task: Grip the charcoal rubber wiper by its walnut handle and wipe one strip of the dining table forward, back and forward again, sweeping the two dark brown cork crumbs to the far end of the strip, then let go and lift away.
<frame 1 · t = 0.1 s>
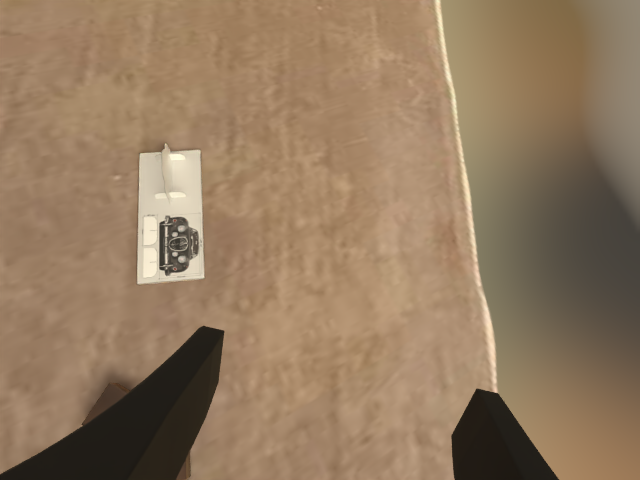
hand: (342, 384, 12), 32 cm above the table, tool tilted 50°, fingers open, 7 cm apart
car cutout: (171, 215, 48), on the table
cork crumb B: (121, 413, 41), on the table
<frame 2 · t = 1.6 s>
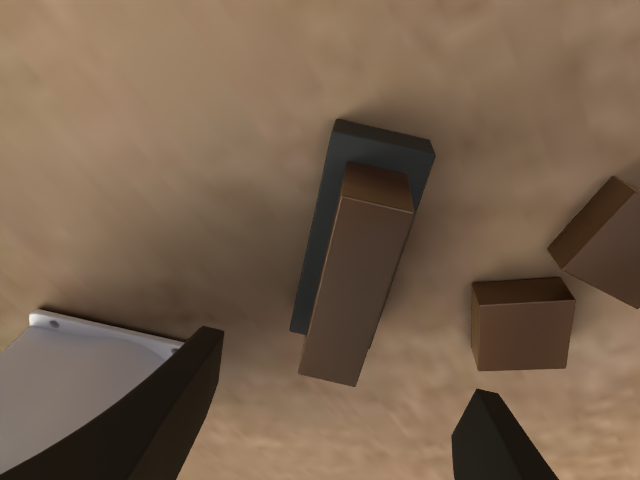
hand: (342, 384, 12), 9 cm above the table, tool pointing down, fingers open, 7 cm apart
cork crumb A: (513, 313, 22), on the table
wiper: (354, 233, 21), on the table
cork crumb B: (615, 234, 19), on the table
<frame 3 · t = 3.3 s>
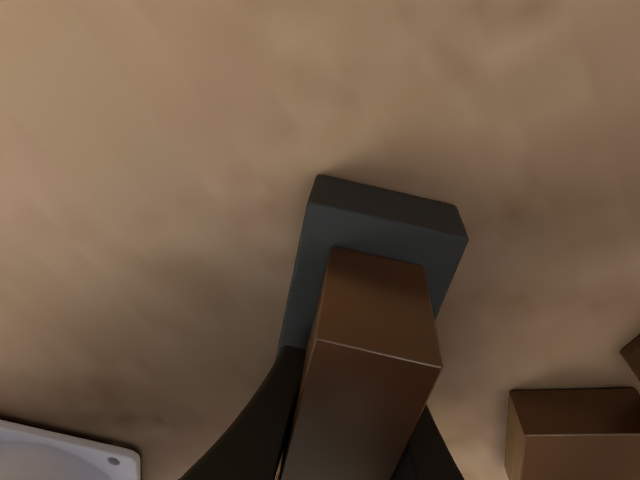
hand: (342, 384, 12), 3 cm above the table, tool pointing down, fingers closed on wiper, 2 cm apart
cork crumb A: (564, 429, 16), on the table
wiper: (346, 325, 15), on the table, touching gripper
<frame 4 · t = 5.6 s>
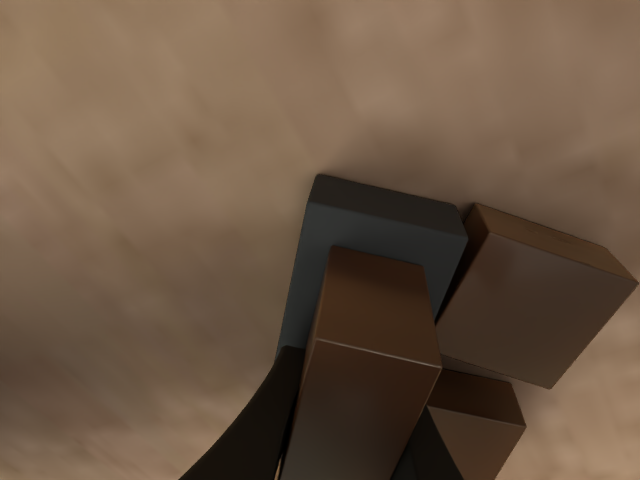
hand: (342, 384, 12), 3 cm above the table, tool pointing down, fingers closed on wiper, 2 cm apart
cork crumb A: (437, 409, 16), on the table
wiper: (346, 324, 15), on the table, touching gripper
cork crumb B: (505, 280, 13), on the table
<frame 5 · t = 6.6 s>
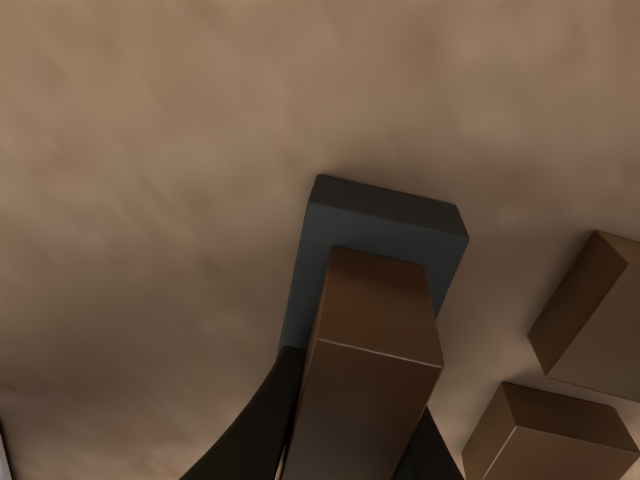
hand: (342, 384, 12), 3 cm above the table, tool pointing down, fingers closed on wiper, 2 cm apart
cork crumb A: (533, 431, 16), on the table
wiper: (347, 324, 15), on the table, touching gripper
cork crumb B: (621, 304, 13), on the table
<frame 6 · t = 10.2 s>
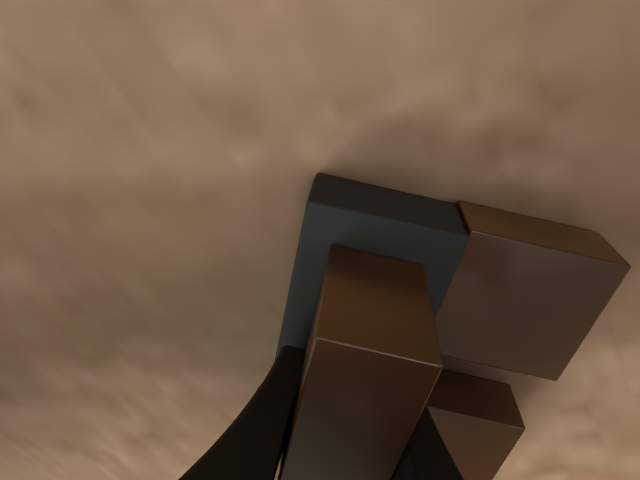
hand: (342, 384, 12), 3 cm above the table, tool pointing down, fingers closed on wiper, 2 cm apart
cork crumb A: (435, 410, 16), on the table, touching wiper
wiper: (346, 324, 15), on the table, touching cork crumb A, cork crumb B, gripper
cork crumb B: (500, 275, 13), on the table, touching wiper
when the fingers open (3 cm above the table, at t = 10.5 s): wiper stays where it is, on the table.
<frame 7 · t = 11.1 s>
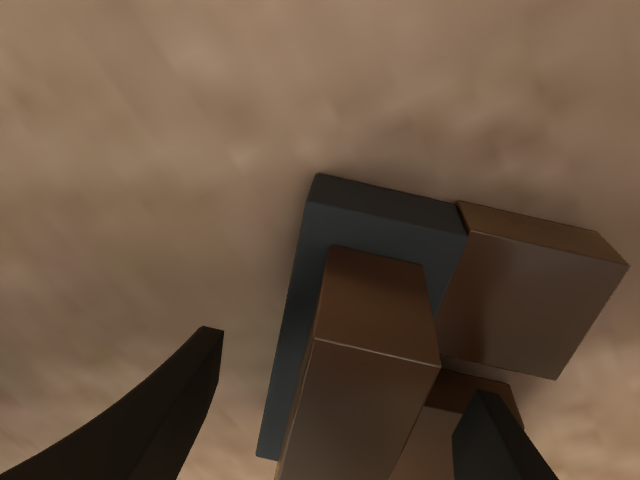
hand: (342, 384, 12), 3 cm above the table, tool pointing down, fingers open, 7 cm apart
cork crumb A: (434, 410, 16), on the table
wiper: (345, 324, 15), on the table
cork crumb B: (499, 274, 13), on the table
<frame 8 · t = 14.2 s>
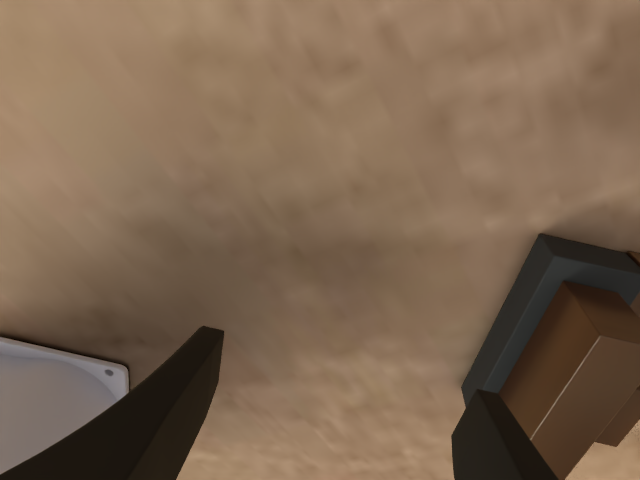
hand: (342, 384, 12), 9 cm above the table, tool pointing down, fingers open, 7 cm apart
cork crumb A: (583, 385, 23), on the table
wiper: (534, 327, 22), on the table
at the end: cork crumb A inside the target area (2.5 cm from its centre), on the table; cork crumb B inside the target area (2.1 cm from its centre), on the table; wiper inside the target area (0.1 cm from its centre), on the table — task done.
